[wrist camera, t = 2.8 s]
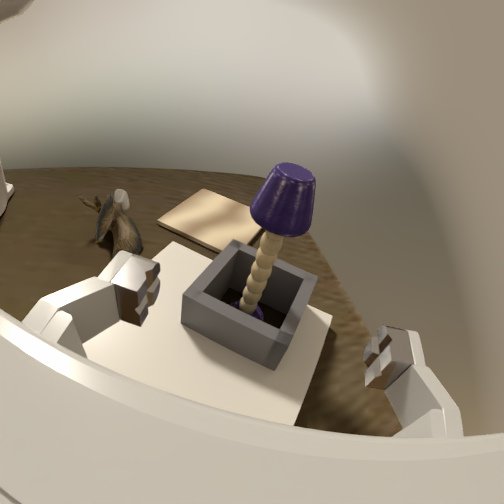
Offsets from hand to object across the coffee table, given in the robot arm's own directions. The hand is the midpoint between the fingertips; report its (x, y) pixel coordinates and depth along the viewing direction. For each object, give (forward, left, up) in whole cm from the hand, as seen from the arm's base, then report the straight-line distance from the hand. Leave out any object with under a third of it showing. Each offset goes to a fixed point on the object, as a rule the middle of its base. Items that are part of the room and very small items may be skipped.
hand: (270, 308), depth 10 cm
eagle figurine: (-22, +14, -17) cm, 31 cm away
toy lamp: (-3, +12, -17) cm, 21 cm away
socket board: (-5, +8, -16) cm, 19 cm away
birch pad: (-14, +26, -16) cm, 34 cm away
